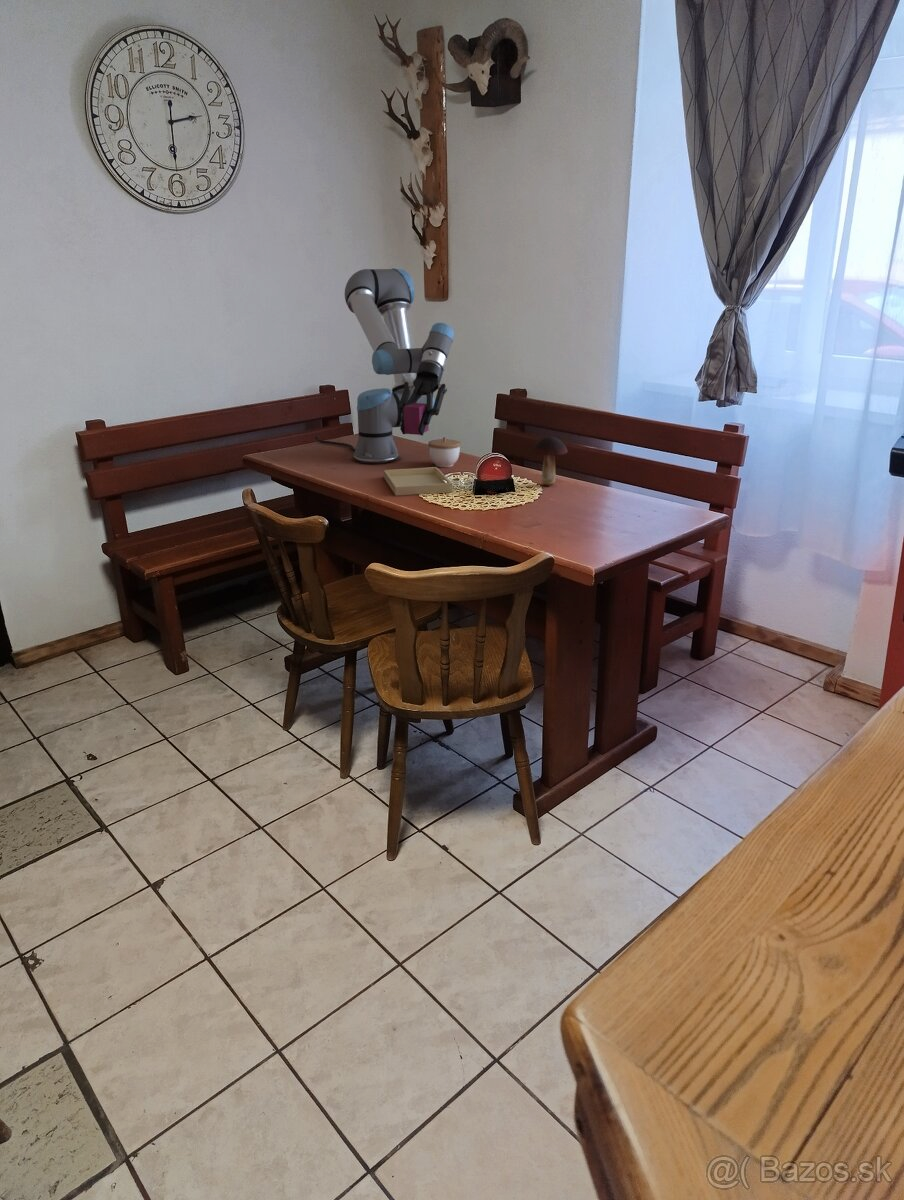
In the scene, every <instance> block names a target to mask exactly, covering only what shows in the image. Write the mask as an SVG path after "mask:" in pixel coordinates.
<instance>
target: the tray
mask: <svg viewBox="0 0 904 1200" xmlns="http://www.w3.org/2000/svg"><path fill="white" fill-rule="evenodd" d="M383 478H384V481H386V483H387V485H388V486H389V487H390V489H391V491H392V492H393V494H394V495H395V496H412V495H422V494H423V495H425V494H427V495H428V494H443V493H453V483H452V482H451V480H449V478H448V477H447V476H446V475H445V473H443V472H442V471H441V470H440V469H439V467H438V466H432V467H415V468H414V467H412V468H398V469H397V468H396V469H395V468H394V469H384V470H383ZM443 480H446V481H447V483H445V482H444V481H443Z"/></svg>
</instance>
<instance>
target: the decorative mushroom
mask: <svg viewBox="0 0 904 1200" xmlns="http://www.w3.org/2000/svg"><path fill="white" fill-rule="evenodd" d="M531 452H532V453H534V454H535V453H536V454H537V455H542V456H544V457H543V463H542V469H541V482H542V484H543V485H545V486H548V487H550V486H553V485H554V484H555V481H556V457H555V456H560V455H565V454H567V453H569V450H568V449H567V446H566V444H564V443H563V441H561V440H560V439H558V438H557V437H555V436H546V437H543V438H542V439H540V440H539V441H537V442H536V443H535V444H534V445H533V446H532V448H531Z"/></svg>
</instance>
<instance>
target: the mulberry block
mask: <svg viewBox="0 0 904 1200" xmlns="http://www.w3.org/2000/svg"><path fill="white" fill-rule="evenodd" d="M426 409H427V404H422V403H412V404H409V405H406V406H404V434H403V435H415V436H417V435H418V436H421V435H420V433H419V431H418V429H419V425H420V422H421V419H422V416H423V412H426V413H427V411H426ZM426 432H429V425H426V427H425V430H424V433H426Z"/></svg>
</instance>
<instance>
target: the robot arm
mask: <svg viewBox="0 0 904 1200" xmlns="http://www.w3.org/2000/svg"><path fill="white" fill-rule="evenodd" d="M344 300H345V304H346V306H347V308H348V310H349V311H350V312H351V313H352V314H354V315H355V317H356V319H357V322H358V323H359V325H360V327H361V329H362V331H363V333H364V335H365V337H366V339H367V341H368V344H369V346H370V347H371V349H372V351H373V352H372V355H371V363H372V364H371V365H372V369H373V371H374V373H375V374H376V375H386V376H391V375H393V379H394V385H393V386H392V388H391V389H390V388H388V387H387V388H385V387H381V388H373V389H367V390H365V391H362V392H360V393H359V394H358V395H357V398H356V399H357V402H356V404H357V405H356V411H357V429H358V430H357V431H358V437H357V438H358V439H357V442H356V445H355V448H354V446H353V445H352V444H349V443H345V442H338V441H332V440H331V441H330V440H324V439H323V440H322V439H320V438H319V435H317V434H316V435H315V437H314V440H316V441H317V442H318V443H321V444H330V445H338V446H343V447H348V448H350V449H351V450H352V451H353V452H354V454H353V458H354V461H355V462H357V463H360V464H368V465H369V464H370V465H381V464H389V463H393V462H396V461H398V460H399V451H398V448H397V446H396V442H395V439H394V437H393V435H394V434H393V429H394V428H399V430H400V431H401V434H402V435H405V434H404V406H406V405H409V404H412V403H422V404H427V409H426V411H427V413H426V412H423V416H422V419H421V422H420V425H419V429H418V431H419V433H420V435H419V436H422V437H423V436H424V434H425V432H424V430H425V427H426V425H428V426H430V422H431V420H432V418H433V416H439V414H440V410H441V407H442V404H443V399H444V396H445V395H446V393H447V392H448V388H447V385H446V383H441V380H442V377H443V374H444V371H445V368H446V363H447V360H448V357H449V354H450V350H451V347H452V344H453V342H454V337H455V331H454V329H453V328H452V326H450V325H449V324H446V323H445V322H436V323H434V324H433V325H432V326H431V328H430V331H428V337H427V339H426V340H425V342H424V344H423V346H422V347H416V348H415V347H414V340H413V336H412V331H411V324H410V318H409V313H408V312H409V311H410V309H411V307H412V304H413V302H414V301H415V286H414V281H413V279H412V277H411V275H410V273H409V272H407V270H405V269H401V268H393V267H392V268H364V269H363V268H362V269H360V270H358V271H356V272H354V273H353V274H352V275H351V276H350V277H349V279H348V280H347V282H346V284H345V287H344ZM436 391H437V393H436V396H435V397H434V393H435V392H436Z"/></svg>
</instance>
